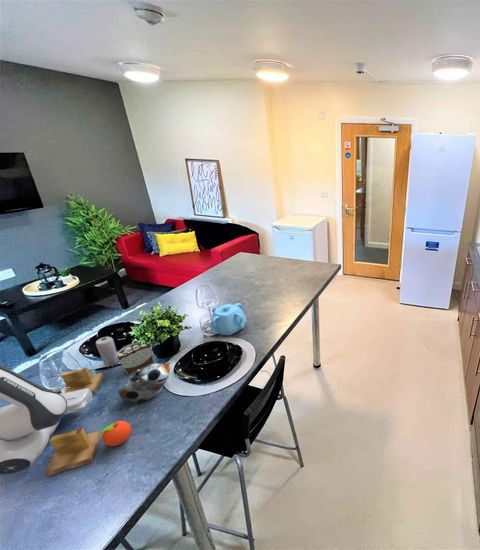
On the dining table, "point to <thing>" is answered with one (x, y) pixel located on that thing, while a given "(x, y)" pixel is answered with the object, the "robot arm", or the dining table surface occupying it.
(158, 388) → the lucky cat figurine
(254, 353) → the dining table surface
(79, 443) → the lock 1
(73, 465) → the wooden board
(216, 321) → the decorative pot
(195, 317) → the dining table surface
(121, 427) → the clementine
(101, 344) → the pillar candle
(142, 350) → the food container
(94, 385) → the plate
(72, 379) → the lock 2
